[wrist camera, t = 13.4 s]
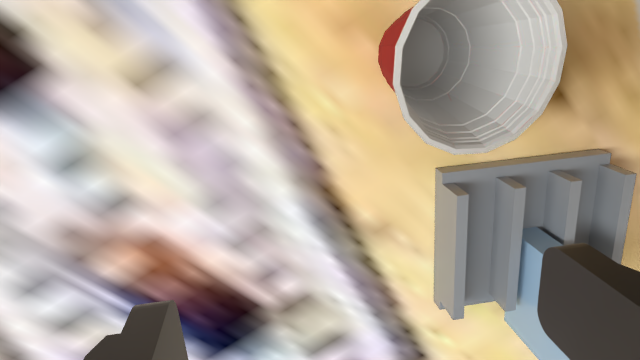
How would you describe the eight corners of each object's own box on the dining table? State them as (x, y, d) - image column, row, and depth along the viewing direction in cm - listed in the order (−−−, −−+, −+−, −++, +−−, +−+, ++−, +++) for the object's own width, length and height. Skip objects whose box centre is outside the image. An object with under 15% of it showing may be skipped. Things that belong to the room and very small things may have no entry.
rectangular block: (511, 230, 41) (598, 296, 31) (536, 226, 41) (630, 291, 31) (504, 319, 44) (580, 407, 34) (527, 316, 45) (609, 402, 34)
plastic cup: (423, 143, 39) (493, 189, 27) (322, 74, 36) (355, 94, 24) (501, 35, 37) (612, 37, 25) (402, -48, 33) (477, -88, 22)
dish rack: (435, 168, 40) (457, 184, 35) (598, 149, 41) (638, 162, 37) (433, 300, 44) (452, 329, 40) (580, 278, 46) (613, 303, 42)
